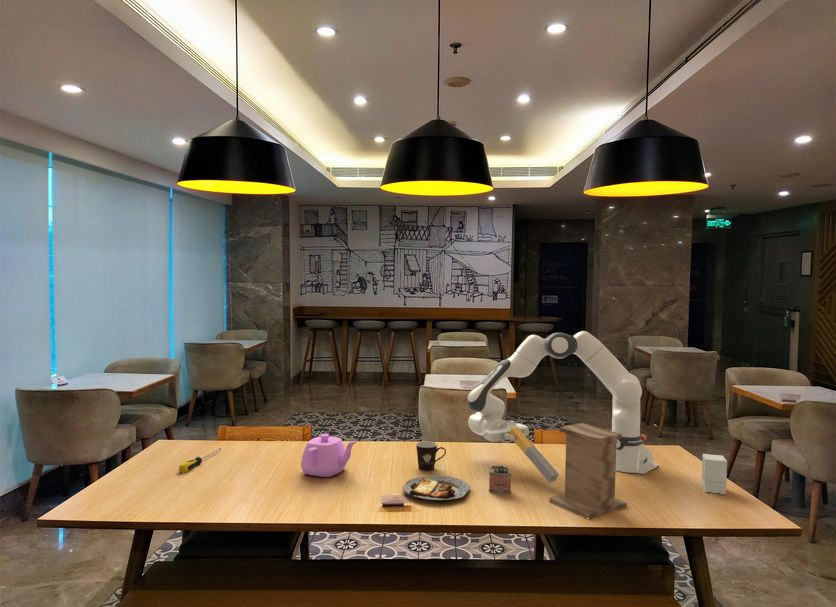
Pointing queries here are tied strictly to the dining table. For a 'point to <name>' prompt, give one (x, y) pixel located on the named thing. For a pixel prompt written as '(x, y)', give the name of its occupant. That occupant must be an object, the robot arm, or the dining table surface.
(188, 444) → the dining table surface
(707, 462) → the supplement box
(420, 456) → the coffee mug
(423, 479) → the food plate
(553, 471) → the gray and orange bar
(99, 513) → the dining table surface
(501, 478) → the lighter
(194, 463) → the screwdriver
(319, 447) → the teapot
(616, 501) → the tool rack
